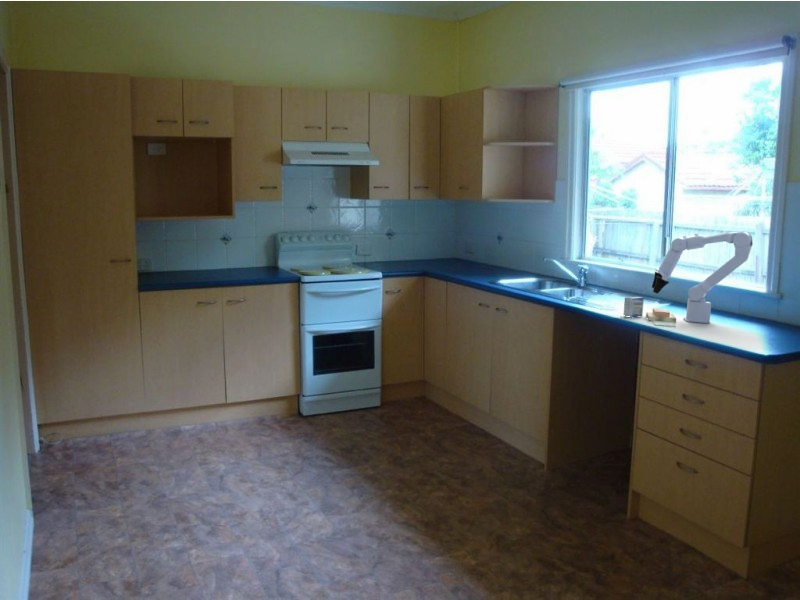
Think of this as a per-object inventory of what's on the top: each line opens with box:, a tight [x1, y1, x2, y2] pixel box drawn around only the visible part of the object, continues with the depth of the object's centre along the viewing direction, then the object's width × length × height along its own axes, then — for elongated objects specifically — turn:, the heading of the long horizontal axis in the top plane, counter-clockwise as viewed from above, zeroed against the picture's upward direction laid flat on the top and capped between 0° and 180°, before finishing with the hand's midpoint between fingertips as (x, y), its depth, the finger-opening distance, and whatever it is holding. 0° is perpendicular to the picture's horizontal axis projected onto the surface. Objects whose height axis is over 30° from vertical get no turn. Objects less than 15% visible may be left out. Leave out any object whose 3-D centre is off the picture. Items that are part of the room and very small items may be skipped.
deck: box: [645, 311, 677, 324], centre depth 317 cm, size 11×11×2 cm
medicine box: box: [623, 296, 645, 318], centre depth 322 cm, size 8×4×9 cm, turn 126°
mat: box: [652, 321, 676, 328], centre depth 307 cm, size 8×10×1 cm
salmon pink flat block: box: [651, 307, 671, 317], centre depth 317 cm, size 6×9×2 cm, turn 167°
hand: (654, 290), depth 325 cm, fingers open, 7 cm apart
